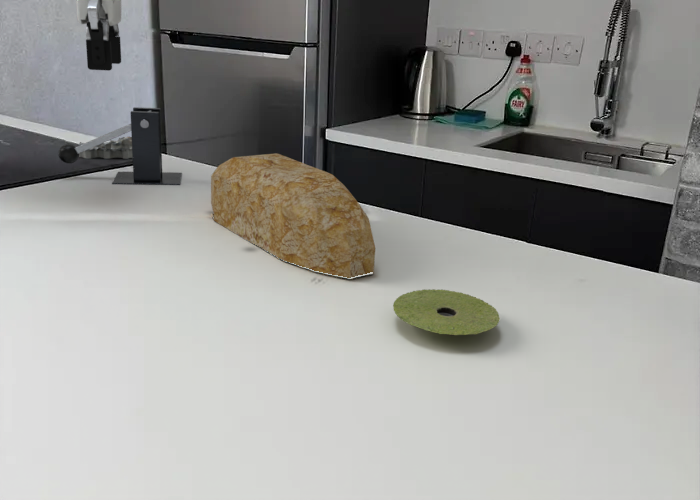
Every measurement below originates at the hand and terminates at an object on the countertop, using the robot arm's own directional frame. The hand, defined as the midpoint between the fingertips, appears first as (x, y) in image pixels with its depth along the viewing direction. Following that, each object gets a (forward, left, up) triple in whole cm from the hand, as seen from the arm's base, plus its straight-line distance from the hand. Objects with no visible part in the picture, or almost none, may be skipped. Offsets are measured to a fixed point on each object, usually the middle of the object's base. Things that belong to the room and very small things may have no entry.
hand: (105, 66), depth 100 cm
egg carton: (-4, +29, -21) cm, 36 cm away
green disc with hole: (+40, -46, -21) cm, 64 cm away
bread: (+25, -17, -21) cm, 37 cm away
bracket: (+5, +11, -21) cm, 24 cm away
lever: (-1, +11, -14) cm, 18 cm away
